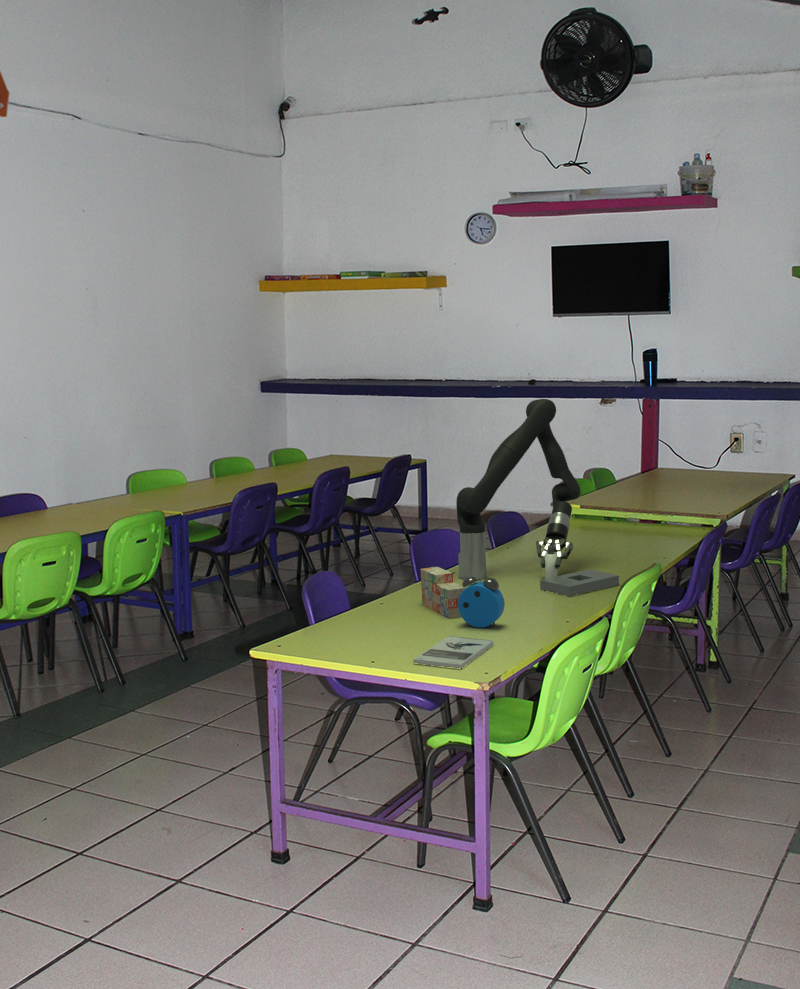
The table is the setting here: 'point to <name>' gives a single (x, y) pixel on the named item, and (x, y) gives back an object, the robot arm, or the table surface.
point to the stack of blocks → (440, 591)
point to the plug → (550, 563)
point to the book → (453, 652)
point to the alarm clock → (480, 602)
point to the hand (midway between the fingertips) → (549, 566)
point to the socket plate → (579, 582)
